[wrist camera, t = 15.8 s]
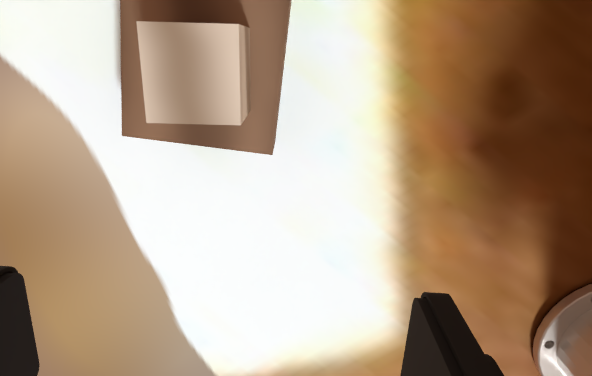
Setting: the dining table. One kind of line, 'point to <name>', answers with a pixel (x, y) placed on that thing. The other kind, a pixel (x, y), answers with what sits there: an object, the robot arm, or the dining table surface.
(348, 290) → the dining table surface
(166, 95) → the maple block
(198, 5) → the walnut block
